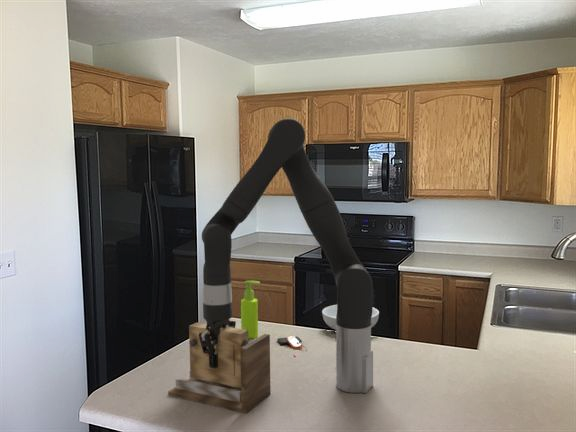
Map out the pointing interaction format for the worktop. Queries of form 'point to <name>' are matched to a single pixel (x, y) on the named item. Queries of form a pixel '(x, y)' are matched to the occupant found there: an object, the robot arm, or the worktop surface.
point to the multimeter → (291, 342)
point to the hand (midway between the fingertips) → (218, 364)
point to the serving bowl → (331, 313)
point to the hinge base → (231, 397)
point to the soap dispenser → (249, 311)
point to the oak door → (227, 355)
